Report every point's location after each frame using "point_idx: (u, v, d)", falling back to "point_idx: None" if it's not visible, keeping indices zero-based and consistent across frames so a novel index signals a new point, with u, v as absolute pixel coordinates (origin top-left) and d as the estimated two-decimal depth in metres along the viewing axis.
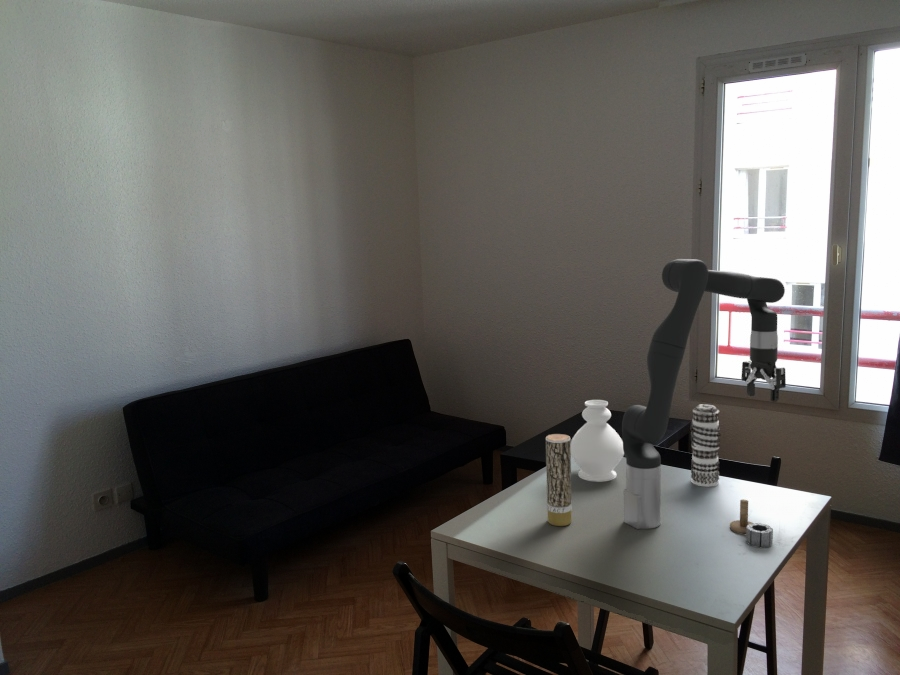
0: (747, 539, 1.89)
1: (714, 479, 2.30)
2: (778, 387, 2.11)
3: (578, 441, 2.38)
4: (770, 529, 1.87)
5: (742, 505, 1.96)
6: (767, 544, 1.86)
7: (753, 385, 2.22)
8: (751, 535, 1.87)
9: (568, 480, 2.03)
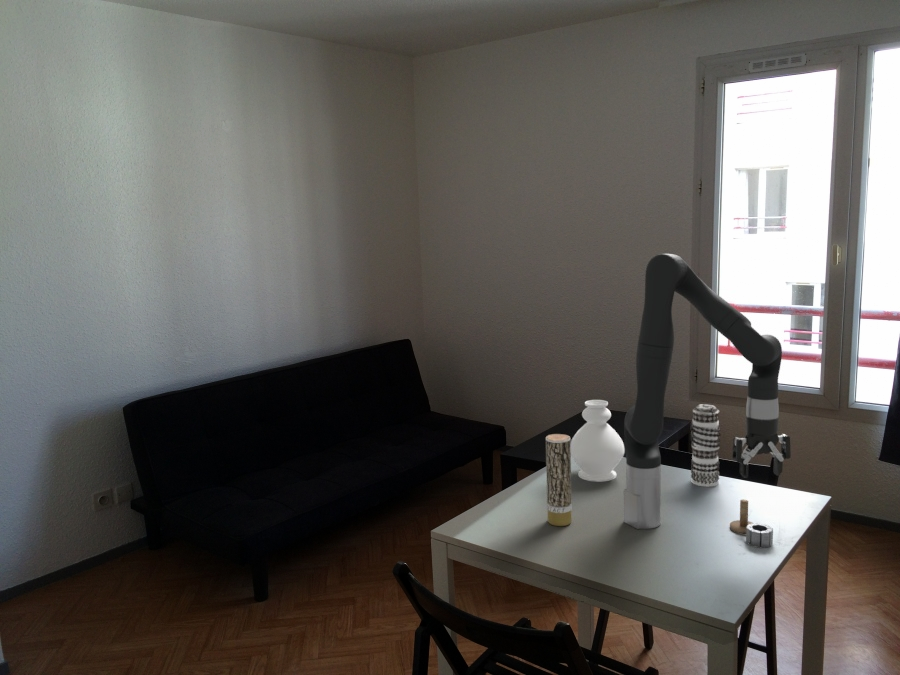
0: (747, 539, 1.89)
1: (714, 479, 2.30)
2: None
3: (579, 441, 2.38)
4: (770, 529, 1.87)
5: (742, 505, 1.96)
6: (767, 544, 1.86)
7: (777, 463, 1.85)
8: (751, 535, 1.87)
9: (568, 480, 2.03)
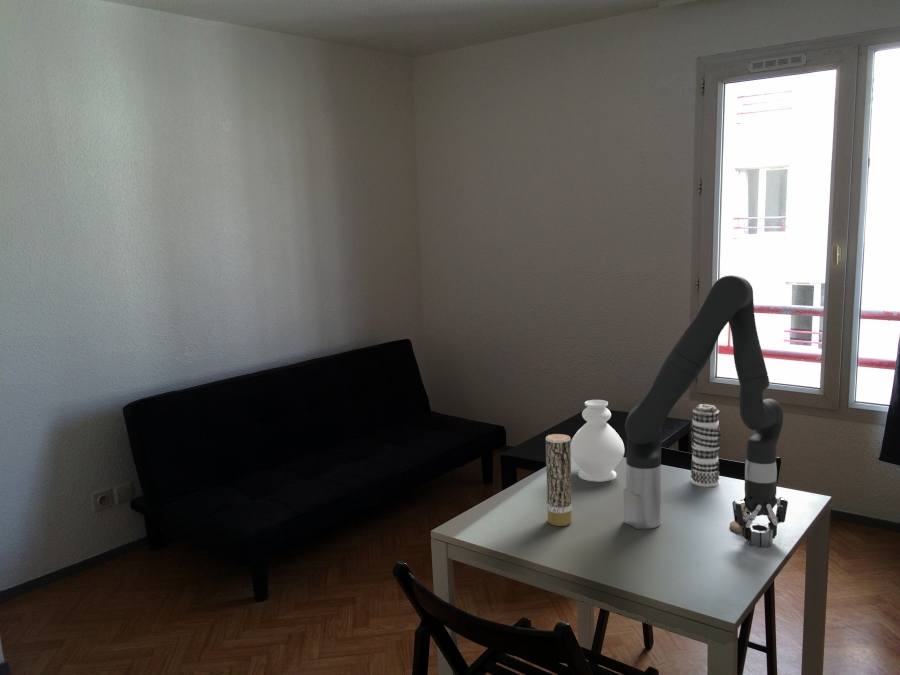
0: None
1: (714, 479, 2.30)
2: None
3: (578, 441, 2.38)
4: (770, 529, 1.87)
5: None
6: (767, 544, 1.86)
7: (771, 526, 1.88)
8: (751, 535, 1.87)
9: (568, 480, 2.03)
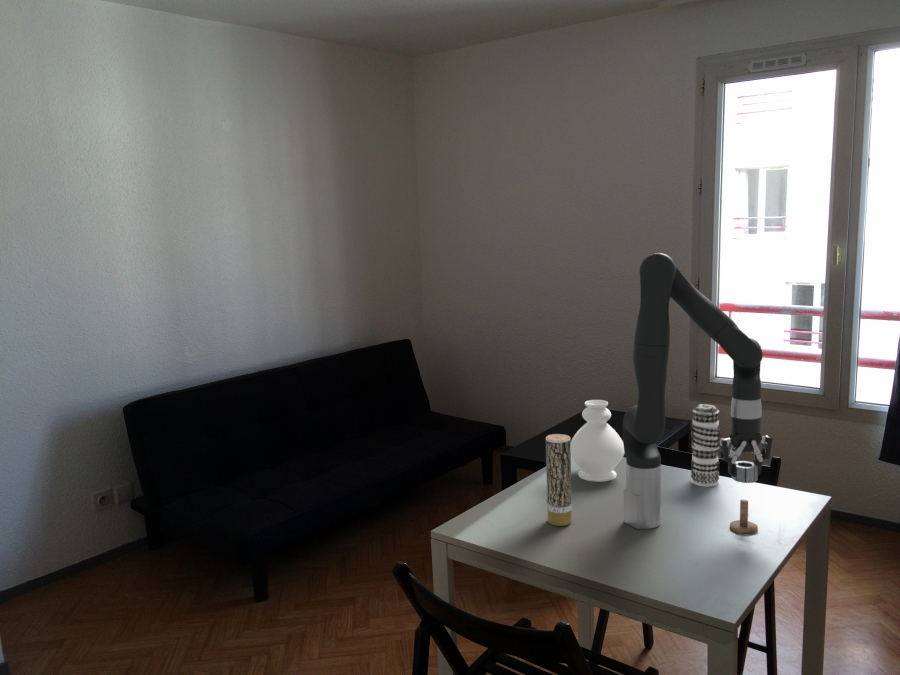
0: None
1: (714, 479, 2.30)
2: None
3: (579, 441, 2.38)
4: (755, 465, 1.93)
5: (742, 505, 1.96)
6: (752, 479, 1.92)
7: (756, 463, 1.94)
8: (736, 471, 1.93)
9: (568, 480, 2.03)
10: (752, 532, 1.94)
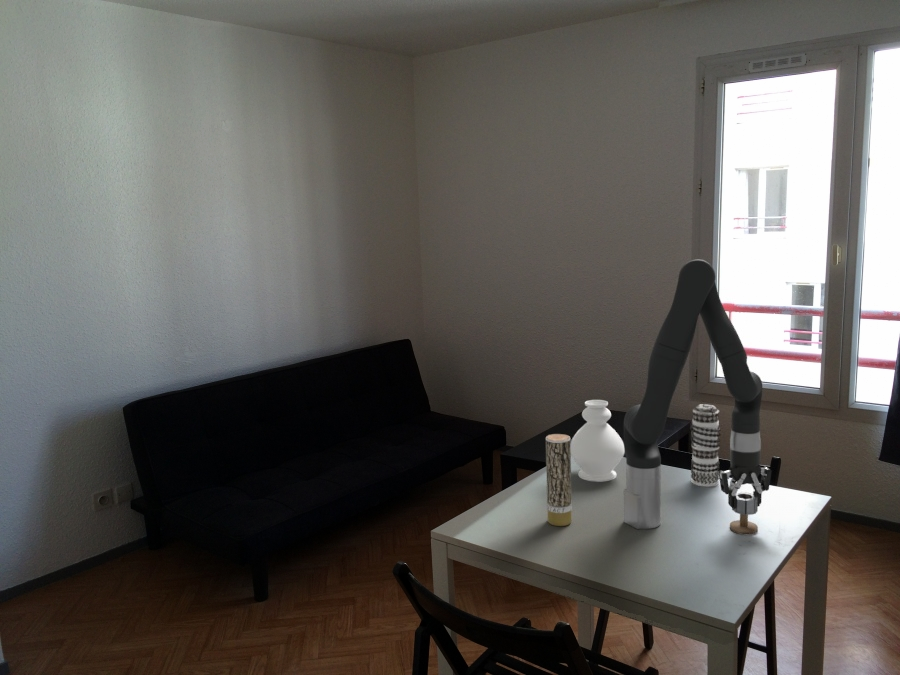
0: None
1: (714, 479, 2.30)
2: None
3: (579, 441, 2.38)
4: (755, 497, 1.95)
5: None
6: (752, 511, 1.94)
7: (756, 494, 1.96)
8: (737, 503, 1.95)
9: (568, 480, 2.03)
10: (752, 532, 1.94)
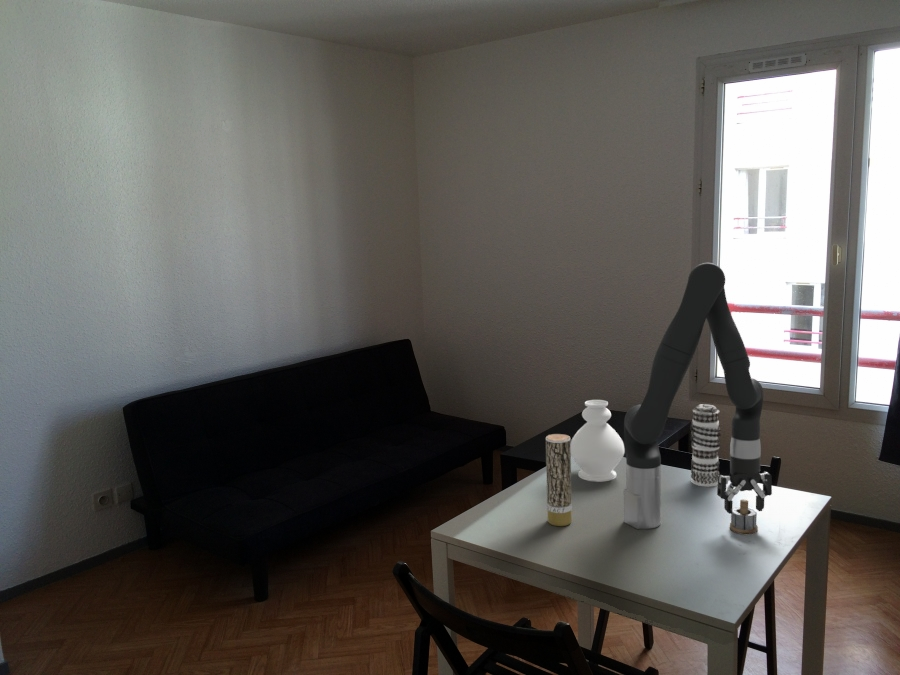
0: (732, 522, 1.97)
1: (714, 479, 2.30)
2: None
3: (579, 441, 2.38)
4: (754, 512, 1.96)
5: (742, 505, 1.96)
6: (751, 527, 1.94)
7: (759, 499, 1.96)
8: (735, 518, 1.95)
9: (568, 480, 2.03)
10: (752, 532, 1.94)
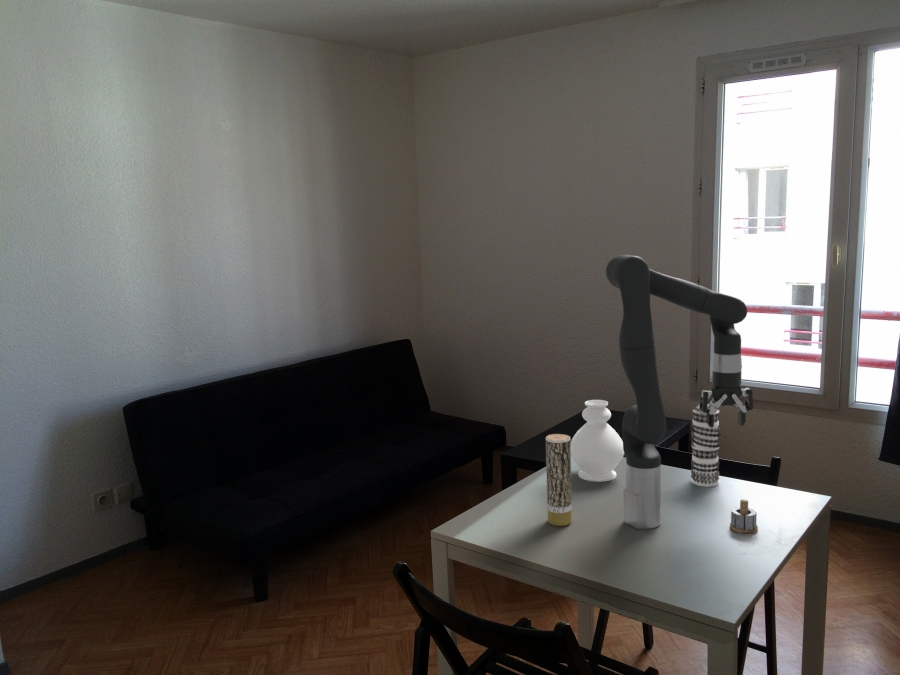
0: (732, 522, 1.97)
1: (714, 479, 2.30)
2: None
3: (579, 441, 2.38)
4: (754, 512, 1.96)
5: (742, 505, 1.96)
6: (751, 527, 1.94)
7: (740, 414, 2.03)
8: (735, 518, 1.95)
9: (568, 480, 2.03)
10: (752, 532, 1.94)
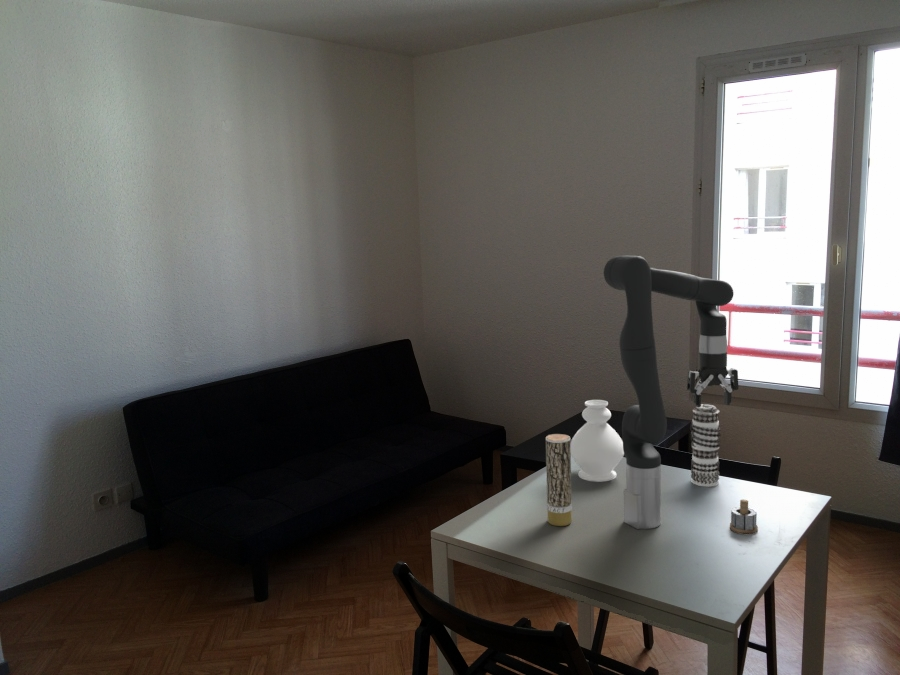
0: (732, 522, 1.97)
1: (714, 479, 2.30)
2: None
3: (578, 441, 2.38)
4: (754, 512, 1.96)
5: (742, 505, 1.96)
6: (751, 527, 1.94)
7: (726, 393, 2.09)
8: (735, 518, 1.95)
9: (568, 480, 2.03)
10: (752, 532, 1.94)
